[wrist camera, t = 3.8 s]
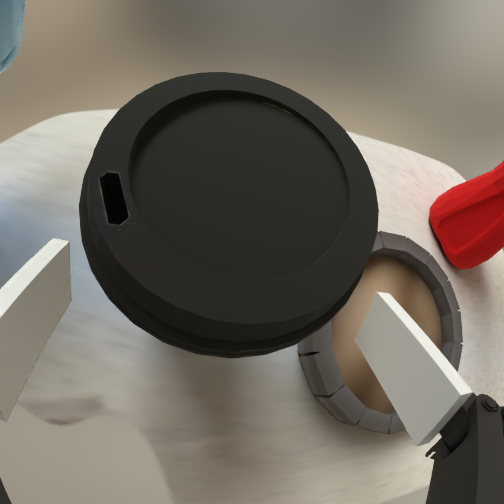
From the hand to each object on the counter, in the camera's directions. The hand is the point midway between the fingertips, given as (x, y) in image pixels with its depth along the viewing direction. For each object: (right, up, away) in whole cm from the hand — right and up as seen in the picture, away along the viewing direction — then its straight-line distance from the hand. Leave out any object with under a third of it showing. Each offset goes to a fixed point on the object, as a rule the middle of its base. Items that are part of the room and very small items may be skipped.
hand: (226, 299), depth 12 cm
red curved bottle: (+25, +4, +20) cm, 32 cm away
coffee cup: (-3, -1, +10) cm, 10 cm away
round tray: (+13, -5, +13) cm, 19 cm away
